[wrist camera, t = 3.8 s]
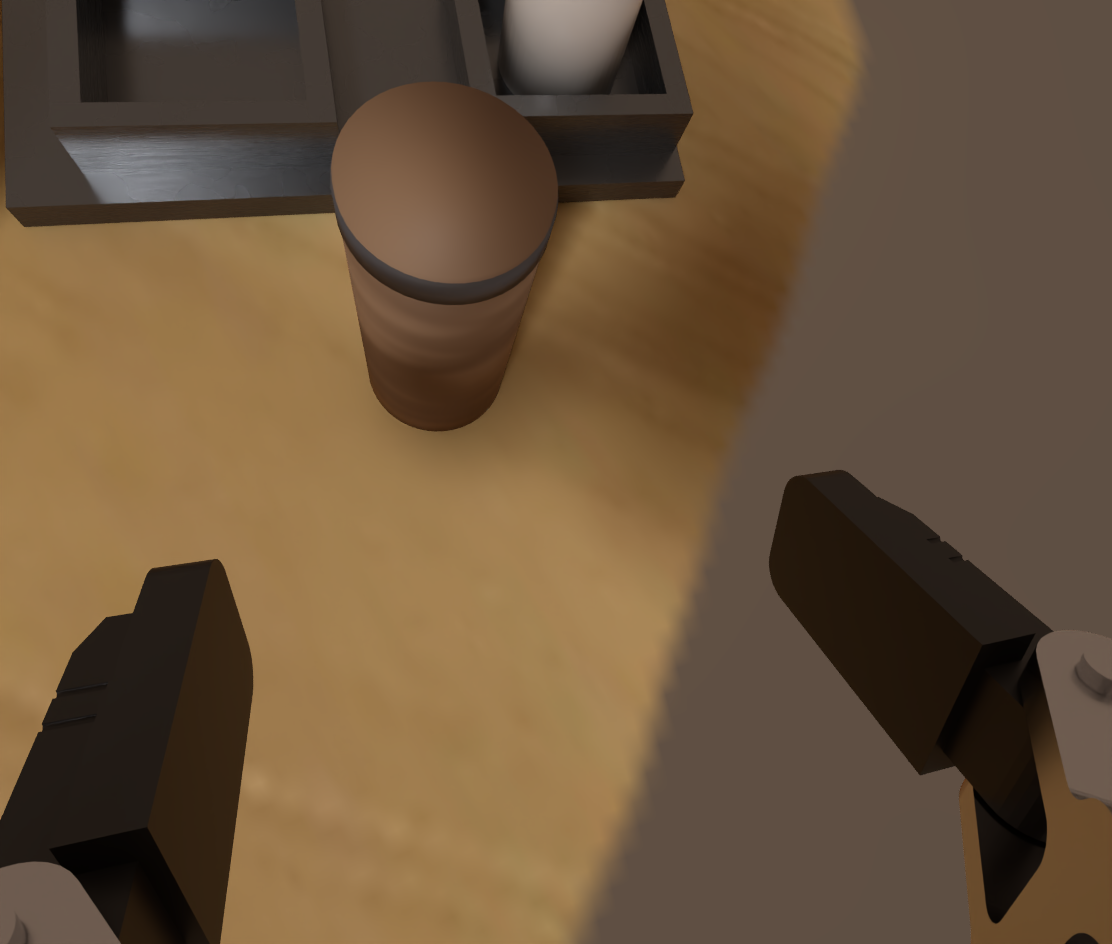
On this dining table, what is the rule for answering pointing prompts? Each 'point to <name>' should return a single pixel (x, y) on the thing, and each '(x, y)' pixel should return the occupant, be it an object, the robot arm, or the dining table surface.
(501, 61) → the salt shaker
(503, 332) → the brown wooden cylinder
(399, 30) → the condiment caddy
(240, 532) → the dining table surface
